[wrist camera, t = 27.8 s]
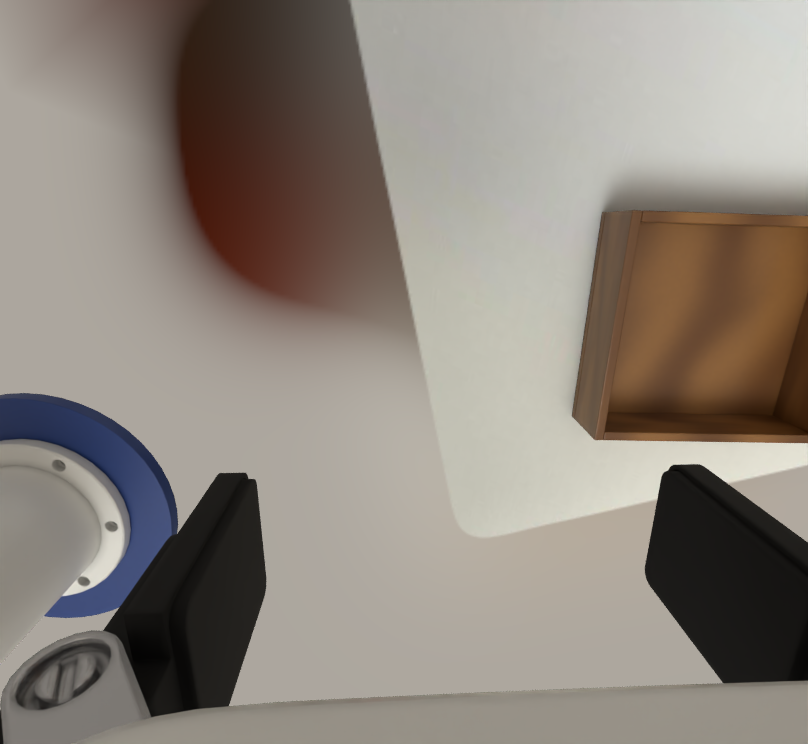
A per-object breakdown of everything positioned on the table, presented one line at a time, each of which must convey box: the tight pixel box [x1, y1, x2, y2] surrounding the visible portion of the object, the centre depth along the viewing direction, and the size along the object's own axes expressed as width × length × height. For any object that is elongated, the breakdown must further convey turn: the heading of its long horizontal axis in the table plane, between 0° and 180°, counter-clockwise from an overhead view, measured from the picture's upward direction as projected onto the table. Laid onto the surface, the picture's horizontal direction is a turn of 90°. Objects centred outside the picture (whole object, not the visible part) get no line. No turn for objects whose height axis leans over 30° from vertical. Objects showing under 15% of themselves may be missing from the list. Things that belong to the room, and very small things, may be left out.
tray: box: [572, 210, 808, 443], centre depth 30 cm, size 15×14×4 cm
